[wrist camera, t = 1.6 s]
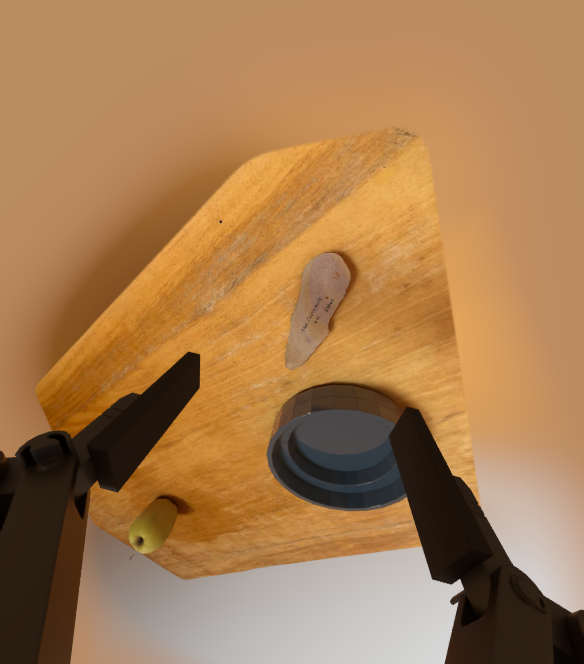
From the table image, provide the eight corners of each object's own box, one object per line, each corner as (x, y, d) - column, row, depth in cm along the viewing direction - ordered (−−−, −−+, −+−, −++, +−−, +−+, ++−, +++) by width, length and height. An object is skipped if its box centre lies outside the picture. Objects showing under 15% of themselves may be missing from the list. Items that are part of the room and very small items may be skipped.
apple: (183, 523, 52) (140, 576, 43) (159, 500, 53) (113, 547, 45) (188, 507, 48) (142, 562, 39) (162, 484, 50) (113, 531, 41)
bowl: (288, 366, 30) (281, 391, 25) (438, 404, 29) (459, 437, 24) (265, 458, 39) (258, 489, 34) (379, 489, 38) (387, 524, 34)
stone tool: (311, 373, 29) (361, 262, 22) (307, 380, 28) (360, 263, 21) (277, 355, 30) (315, 244, 23) (272, 361, 29) (311, 244, 22)
